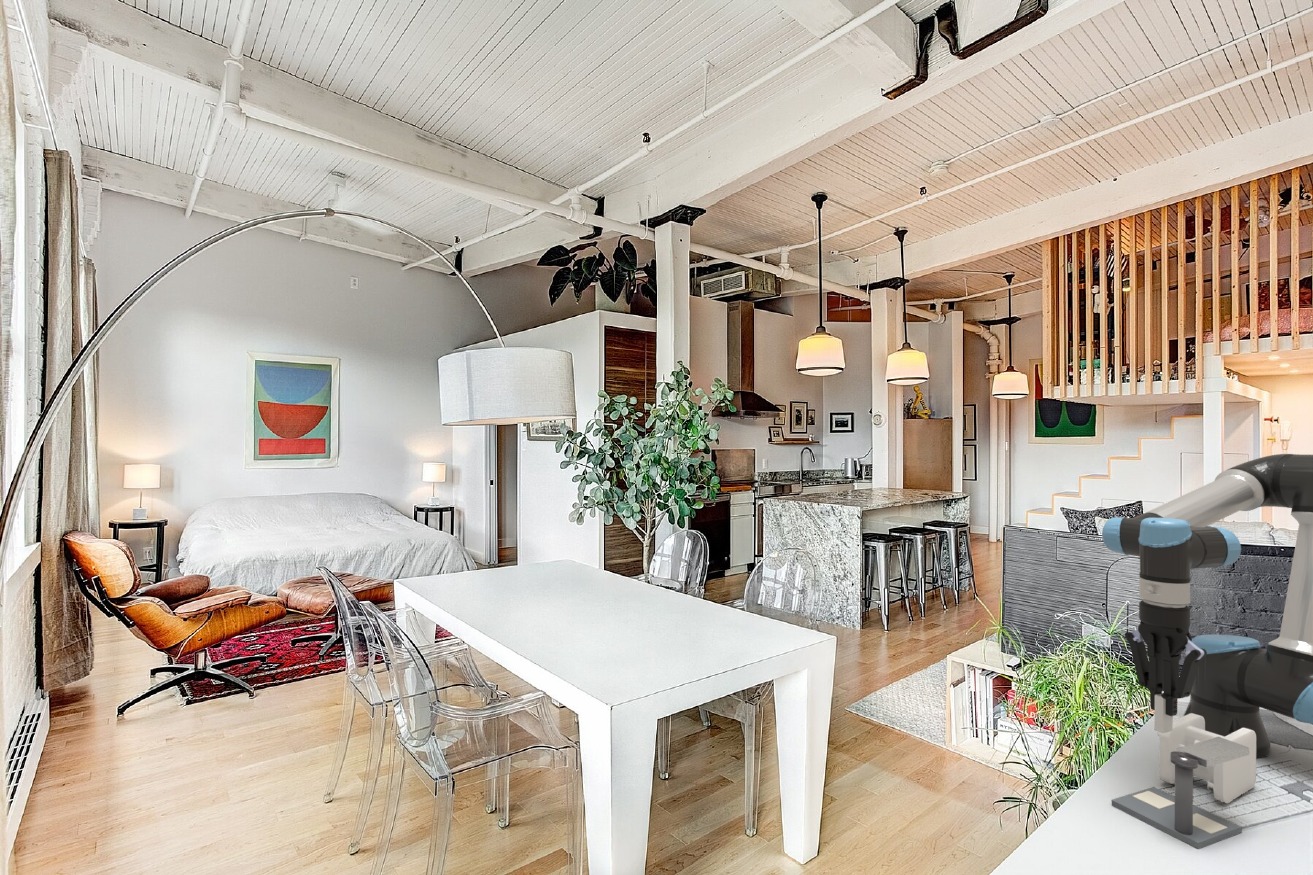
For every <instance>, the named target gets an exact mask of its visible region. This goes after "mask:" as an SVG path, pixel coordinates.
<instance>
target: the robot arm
mask: <svg viewBox="0 0 1313 875" xmlns="http://www.w3.org/2000/svg"><path fill="white" fill-rule="evenodd" d="M1262 507H1263V508H1265V507H1271V508H1272V507H1274V508H1287V509H1291V512H1290V516H1291V517H1293V519H1295V521H1296V522H1297V523H1298V528H1297V534H1296V539H1295V540H1296V541H1295V548H1294V551H1293V552H1294V553H1293V556H1292V557H1293V558H1292V564H1291V567H1290V568H1291V570H1290V575H1289V581H1288V586H1287V587H1288V588H1287V593H1286V598H1285V602H1284V610H1283V616H1282V620H1281V626H1280V631H1279V636H1278V637H1277V638H1276V639H1273V640H1271V641H1269V642H1268V643H1267V646H1266V647H1267V649H1266V650H1263V649H1261V648H1262V645H1261V643H1260V641H1259V640H1258V639H1255V638H1253V637H1248V636H1241V635H1233V634H1232V635H1231V634H1201V635H1197V636H1195V637H1193V638H1192V636H1191V634H1190V626H1191V607H1189V604H1191V570H1193V569H1208V568H1209V569H1211V568H1212V569H1218V568H1221V567H1226V566H1231V565H1232V564H1234V563H1235V562H1237V561H1238V559H1239V557H1240V556H1241V554H1242V553H1241V552H1242V545H1241V543H1240V540H1239V538H1238V537H1237V535H1235V533H1233V532H1232V531H1230V530H1229V529H1228V528H1224V527H1221V526H1210V525H1213V524H1215V523H1217V522H1218V521H1221V520H1222V519H1225V518H1227V517H1229V516H1231V515H1233V514H1235V513H1237V512H1249V511H1254V510H1256V509H1258V508H1262ZM1101 537H1102V542H1103V544H1104V545H1105V547H1106V548H1107V550H1109V551H1111V552H1113V553H1114V552H1115V553H1119V554H1123V555H1124V556H1133V557H1134V556H1135V557H1139V583H1138V584H1139V587H1138V588H1139V589H1138V590H1139V598H1141V600H1140V601H1139V602H1138V619H1139V620H1140V621H1139V622H1140V623H1139V624H1138V625H1137V629H1136V630H1133V631H1128V632H1125V633H1124V636H1125V637H1124V638H1126V641H1127V643H1128V645H1129V646H1130V650H1131V655H1132V660H1133V664H1134V668H1135V673H1136V677H1137V681H1138V682H1137V683H1138V685H1139V686H1140V687H1141V688H1142V687H1144V688H1146V689H1147V690H1148V691H1149V694H1150V696H1149V697H1150V698H1149V699H1150V700H1149V707H1150V710H1152V711H1154V731H1157V733H1158V732H1161V733H1166V732H1170V731H1173V721H1174V719H1173V717H1174V716H1177V714H1178V699H1183V698H1188V697H1190V699H1189V702H1188V704H1187V707H1186V708H1185V711H1184V713H1183V715H1182V717H1183V716H1185V715H1188V714H1190V713H1193V714H1196V715H1200V716H1202V717H1203V718H1204V720H1205V731H1208V732H1212V733H1215V734H1218V735H1221V736H1224V737H1225V736H1227V735H1229V734H1231V733H1233V732H1235V731H1237V730H1239V729H1241V728H1247V729H1250V730H1253V731H1254V732H1255V733H1256V758H1262V757H1263V758H1264V757H1267V756H1269V755H1271V740H1270V737H1269V734H1268V732H1267V730H1266V727H1265V724H1264V722H1263V719H1262V717H1261V712H1260V708H1262V709H1264V710H1267V711H1270V712H1273V713H1276V714H1279V715H1282V716H1285V717H1287V718H1291V719H1294V720H1296V721H1297V722H1299V723H1304V724H1310V725H1313V454H1296V453H1295V454H1294V453H1280V454H1279V453H1278V454H1273V455H1266V456H1262V457H1259V458H1255V459H1252V460H1248V461H1245V462H1242V463H1240V464H1237V465H1235V466H1232V467H1230V468H1228V469H1225V470H1223V471H1221V472H1220V473H1218V474H1217V475H1216V476H1215V478H1214V480H1213V481H1212V482H1209V483H1207V484H1205V485H1202V486H1201V487H1198V488H1196V489H1194V490H1191V491H1189V492H1187V493H1185V494H1183V495H1181V496H1178V497H1177V498H1174V499H1172V500H1170V501H1168V502H1166V503H1164V504H1162V505H1159V506H1157V507H1155V508H1153V509H1151V510H1148V511H1146V512H1144V513H1142V514H1140V515H1136V516H1134V517H1131V518H1128V517H1125V516H1122V517H1118V516H1117V517H1116V516H1115V517H1111V518H1110V519H1108V520H1107V521H1106V522H1105V523H1104V525H1103V526H1102V530H1101ZM1185 649H1186V650H1185ZM1184 650H1185V652H1184V653H1185V655H1186V656H1185V658H1184V660H1183V664H1182V667H1181V670H1180V660H1181V657H1182V653H1183V651H1184Z"/></svg>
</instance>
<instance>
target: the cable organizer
mask: <svg viewBox="0 0 1313 875" xmlns="http://www.w3.org/2000/svg"><path fill="white" fill-rule="evenodd" d="M1157 737H1158V738H1159V740H1158V741H1159V742H1158V748H1159V749H1158V750H1159V752H1158V754H1159V755H1158V758H1159V759H1158V762H1159V763H1158V775H1159V779H1160V780H1161V781H1164V782H1166V783H1169V784H1171V785H1175V764H1173V763H1172V762H1171V761H1170V753H1171V752H1174V751H1176V748H1180V747H1183V746H1187V745H1190V744H1194V743H1198V742H1201V741H1205V740H1208V739H1212V738H1215V737H1221V738H1224V739H1227V740H1229V741H1232V742H1235V743H1238V744H1241V745H1243V746H1246V747H1249V755H1246V756H1243V757H1240V758H1237V759H1233V760H1230V761H1227V762H1224V763H1220V764H1217V765H1214V766H1211V767H1204V766H1202V765H1199V764H1198V768H1196V769H1193V778H1194V777H1195V778H1197V779H1200V780H1203V781H1204V782H1207V786H1206V790H1209V791H1210V790H1211V789H1213V796H1214V799H1216V800H1218V801H1219V802H1222V803H1223V802H1225V803H1228V802H1229V803H1231V802H1232V801H1234V800H1235V799H1236V798H1238V797H1240V796H1241V794H1242V795H1244V794H1246V793H1247V792H1249V791H1250V790H1251V789H1252V788H1253V787H1254V786H1255V783H1256V781H1257V780H1256V779H1257V757H1256V733H1255V732H1254V731H1253V730H1250V729H1247V728H1241V729H1239V730H1237V731H1235V732H1233V733H1231V734H1229V735H1227V736H1225V737H1224V736H1221V735H1218V734H1215V733H1212V732H1208V731H1205V720H1204V718H1203V717H1202V716H1200V715H1196V714H1193V713H1190V714H1188V715H1185V716H1183V715H1182V716H1181V717H1178V718H1177V719H1173V731H1170V732H1166V733H1161V732H1158V731H1157ZM1248 790H1249V791H1248ZM1246 791H1247V792H1246ZM1245 792H1246V793H1245ZM1243 793H1244V794H1243ZM1233 799H1234V800H1233ZM1230 801H1231V802H1230ZM1225 803H1224V804H1225ZM1229 803H1228V804H1229Z"/></svg>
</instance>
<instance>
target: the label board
mask: <svg viewBox="0 0 1313 875" xmlns="http://www.w3.org/2000/svg"><path fill="white" fill-rule="evenodd" d="M1111 806H1112V807H1115V808H1116V809H1118V810H1120V811H1121V812H1124V813H1126V814H1127V815H1130V816H1132V817H1134V818H1135V819H1138V820H1140V821H1142V822H1144V823H1146V824H1147V825H1150V826H1152V827H1154V828H1156V829H1157V830H1159V831H1162V832H1164V833H1165V834H1168V835H1170V836H1172V837H1174V838H1175V839H1177V840H1179V841H1181V842H1184V843H1185V844H1187V845H1189V846H1192V847H1193V848H1196V849H1197V850H1200V849H1202V848H1205V847H1207V846H1210V845H1213V844H1215V843H1218V842H1220V841H1223V840H1226V839H1228V838H1231V837H1234V836H1236V835H1239V834H1242V833H1243V826H1241V825H1239V824H1237V823H1235V822H1233V821H1230V820H1228V819H1226V818H1224V817H1221V816H1219V815H1217V814H1215V813H1212V812H1211V811H1208V810H1206V809H1204V808H1202V807H1199V806H1197V805H1195V804H1194V776H1193V769H1188V768H1183V767H1180V766H1177V765H1175V784H1174V794H1172V793H1171V794H1170V793H1168V792H1167V791H1164V790H1162V789H1160V788H1158V787H1155V786H1151V787H1147V788H1145V789H1142V790H1139V791H1136V792H1133V793H1129V794H1126V795H1122V796H1119V797H1116V798H1112V799H1111Z"/></svg>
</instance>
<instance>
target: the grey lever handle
mask: <svg viewBox="0 0 1313 875" xmlns="http://www.w3.org/2000/svg"><path fill="white" fill-rule="evenodd" d="M1246 755H1249V747H1246V746H1243V745H1241V744H1238V743H1235V742H1232V741H1229V740H1227V739H1224V738H1221V737H1215V738H1212V739H1208V740H1205V741H1201V742H1198V743H1194V744H1190V745H1187V746H1183V747H1180V748H1176V751H1174V752H1171V753H1170V761H1171V762H1172V763H1173V764H1175V765H1177V766H1180V767H1183V768H1188V769H1196V768H1198V764H1199V765H1202V766H1204V767H1211V766H1214V765H1217V764H1220V763H1224V762H1227V761H1230V760H1233V759H1237V758H1240V757H1243V756H1246Z"/></svg>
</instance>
